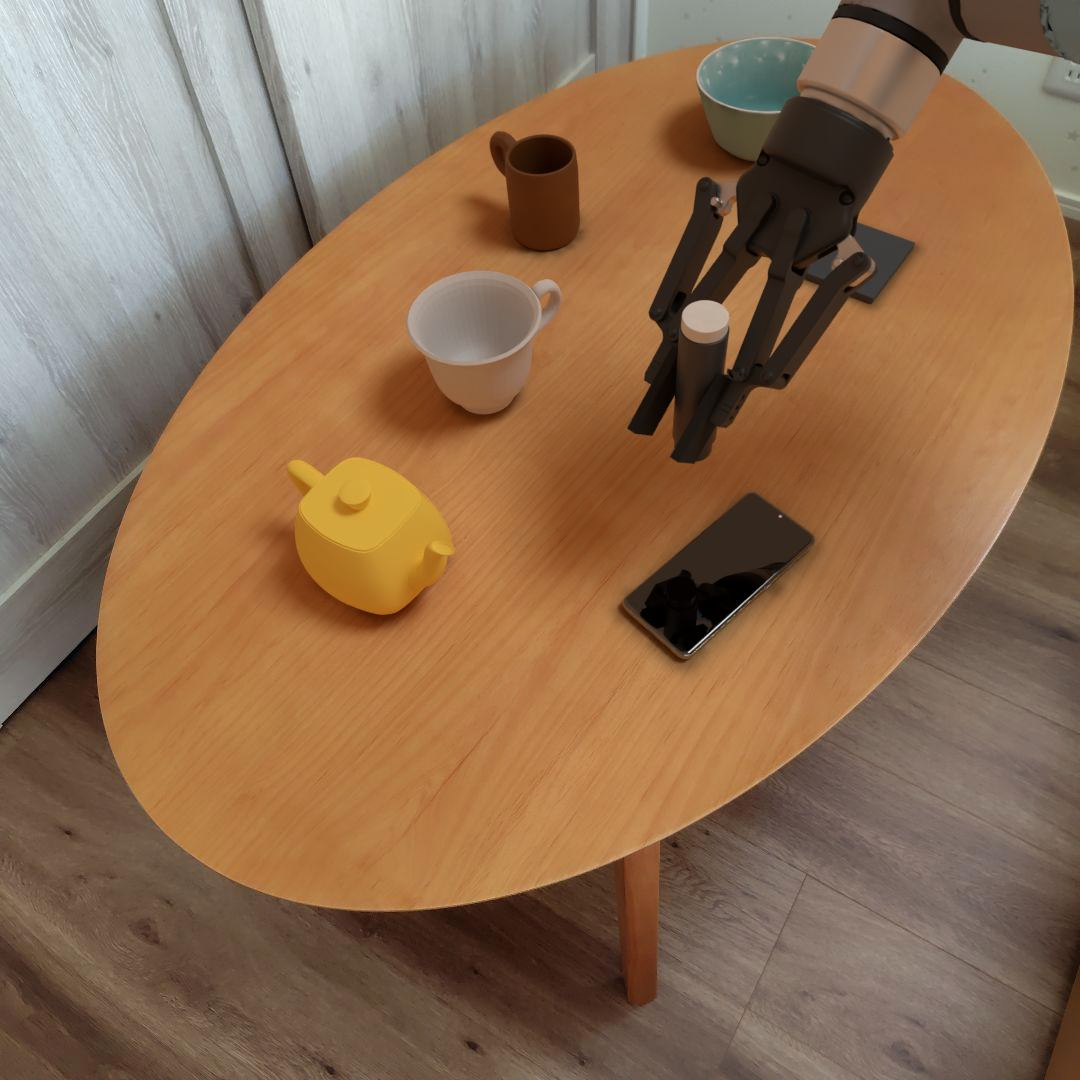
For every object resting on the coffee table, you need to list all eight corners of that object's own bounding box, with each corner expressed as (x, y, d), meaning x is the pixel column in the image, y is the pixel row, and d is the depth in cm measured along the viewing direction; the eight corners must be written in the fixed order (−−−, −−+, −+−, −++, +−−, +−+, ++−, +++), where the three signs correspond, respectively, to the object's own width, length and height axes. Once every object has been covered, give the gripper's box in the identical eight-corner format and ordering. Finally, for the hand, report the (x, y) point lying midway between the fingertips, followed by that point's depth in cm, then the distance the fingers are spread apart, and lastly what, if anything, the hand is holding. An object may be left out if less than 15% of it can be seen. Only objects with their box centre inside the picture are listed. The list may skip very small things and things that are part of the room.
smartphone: (618, 601, 76) (751, 487, 81) (618, 608, 77) (750, 495, 82) (685, 660, 72) (820, 537, 77) (684, 666, 73) (818, 545, 78)
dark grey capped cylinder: (722, 442, 71) (740, 310, 60) (700, 470, 69) (715, 340, 59) (685, 425, 72) (696, 292, 61) (663, 452, 70) (670, 321, 60)
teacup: (597, 391, 90) (595, 311, 82) (462, 460, 86) (445, 384, 78) (532, 320, 96) (524, 239, 88) (403, 382, 93) (382, 303, 84)
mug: (473, 214, 107) (462, 138, 99) (524, 184, 109) (516, 108, 101) (543, 262, 101) (536, 186, 93) (594, 230, 104) (592, 153, 96)
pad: (913, 248, 98) (915, 242, 98) (871, 304, 94) (873, 298, 94) (825, 217, 102) (826, 211, 102) (781, 270, 98) (782, 263, 97)
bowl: (664, 135, 113) (667, 67, 106) (765, 87, 117) (774, 20, 110) (751, 198, 105) (760, 130, 98) (856, 145, 109) (872, 76, 102)
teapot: (511, 575, 79) (498, 498, 70) (426, 672, 74) (400, 603, 66) (356, 480, 86) (326, 400, 77) (270, 564, 81) (227, 489, 73)
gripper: (973, 186, 58) (773, 508, 66) (759, 96, 65) (601, 395, 73) (951, 148, 52) (733, 508, 59) (717, 53, 59) (549, 385, 67)
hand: (661, 445), depth 66 cm, fingers closed on dark grey capped cylinder, 3 cm apart
